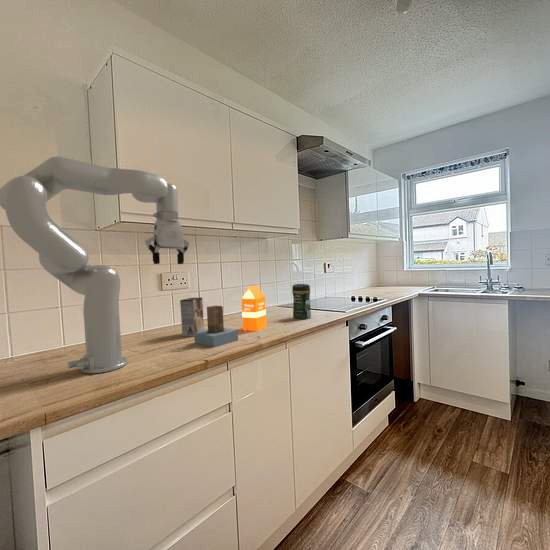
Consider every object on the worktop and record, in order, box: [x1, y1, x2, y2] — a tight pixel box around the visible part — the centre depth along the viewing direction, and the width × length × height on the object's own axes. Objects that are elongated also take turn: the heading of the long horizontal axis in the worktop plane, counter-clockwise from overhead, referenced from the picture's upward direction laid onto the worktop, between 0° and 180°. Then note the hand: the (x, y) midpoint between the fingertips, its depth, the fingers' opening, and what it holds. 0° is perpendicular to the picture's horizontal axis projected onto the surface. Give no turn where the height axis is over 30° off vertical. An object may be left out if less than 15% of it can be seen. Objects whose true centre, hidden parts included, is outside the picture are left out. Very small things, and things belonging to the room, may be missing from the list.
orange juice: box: [241, 285, 267, 332], centre depth 140 cm, size 8×9×20 cm
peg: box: [206, 305, 225, 334], centre depth 119 cm, size 4×4×14 cm
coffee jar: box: [291, 283, 312, 320], centre depth 163 cm, size 10×8×19 cm
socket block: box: [194, 327, 239, 348], centre depth 119 cm, size 12×12×4 cm
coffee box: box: [179, 296, 205, 337], centre depth 134 cm, size 9×6×16 cm
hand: (169, 263), depth 112 cm, fingers open, 9 cm apart
